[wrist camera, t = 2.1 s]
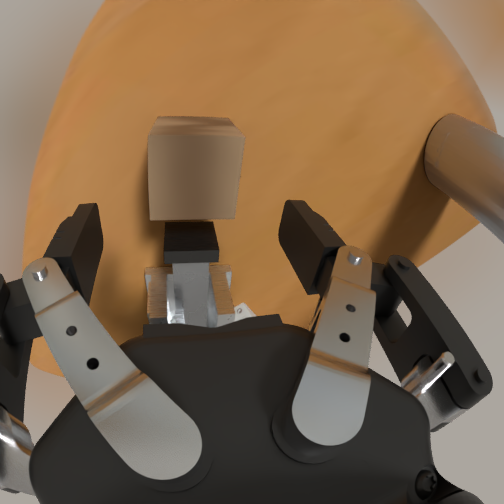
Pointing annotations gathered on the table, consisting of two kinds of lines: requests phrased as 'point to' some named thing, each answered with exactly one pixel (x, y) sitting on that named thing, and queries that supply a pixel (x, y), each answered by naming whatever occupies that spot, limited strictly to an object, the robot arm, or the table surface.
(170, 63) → the table surface
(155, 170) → the walnut block
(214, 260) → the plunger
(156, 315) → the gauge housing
